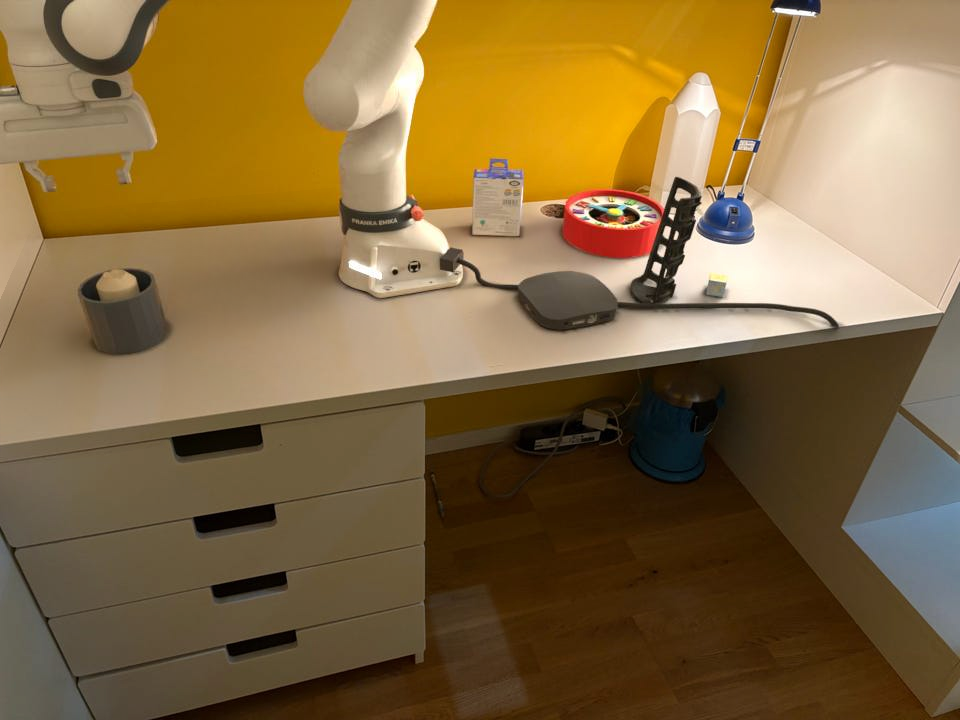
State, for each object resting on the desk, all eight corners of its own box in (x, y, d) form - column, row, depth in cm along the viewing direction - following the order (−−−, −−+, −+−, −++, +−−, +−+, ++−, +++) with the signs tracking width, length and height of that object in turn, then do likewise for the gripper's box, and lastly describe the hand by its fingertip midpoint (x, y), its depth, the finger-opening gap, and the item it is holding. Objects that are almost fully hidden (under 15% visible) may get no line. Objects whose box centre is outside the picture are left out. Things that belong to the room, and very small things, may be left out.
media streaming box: (583, 279, 133) (585, 265, 131) (624, 320, 122) (627, 304, 120) (510, 292, 128) (511, 277, 126) (545, 335, 117) (547, 319, 115)
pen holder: (172, 315, 119) (160, 266, 114) (161, 351, 110) (147, 300, 105) (103, 319, 117) (87, 270, 112) (86, 357, 109) (68, 305, 104)
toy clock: (638, 239, 134) (546, 211, 143) (634, 267, 137) (543, 238, 146) (682, 205, 147) (594, 181, 157) (676, 232, 151) (591, 207, 160)
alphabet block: (705, 294, 130) (708, 279, 128) (707, 286, 132) (710, 271, 130) (723, 298, 129) (726, 283, 127) (724, 290, 131) (728, 275, 129)
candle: (135, 342, 111) (118, 284, 105) (103, 336, 112) (85, 279, 106) (156, 323, 115) (141, 267, 110) (125, 318, 116) (109, 262, 110)
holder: (622, 277, 133) (651, 173, 122) (661, 280, 134) (693, 177, 123) (637, 308, 124) (670, 200, 113) (679, 311, 126) (716, 204, 114)
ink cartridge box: (519, 225, 151) (524, 157, 143) (520, 237, 147) (525, 167, 138) (472, 224, 151) (474, 155, 143) (471, 235, 147) (473, 165, 138)
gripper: (-43, 95, 87) (-1, 204, 95) (141, 82, 93) (166, 186, 101) (-33, 82, 92) (7, 187, 99) (142, 71, 97) (166, 170, 105)
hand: (88, 186), depth 100 cm, fingers open, 8 cm apart
